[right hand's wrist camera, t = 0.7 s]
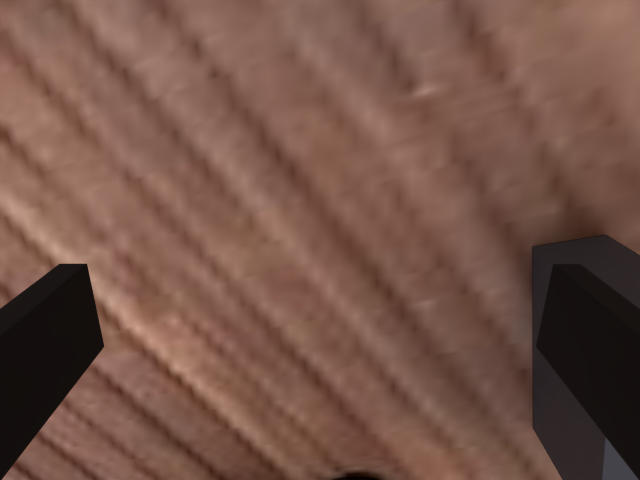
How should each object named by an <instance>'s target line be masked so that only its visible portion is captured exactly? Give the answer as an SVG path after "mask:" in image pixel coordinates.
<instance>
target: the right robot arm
mask: <svg viewBox="0 0 640 480" xmlns="http://www.w3.org/2000/svg"><path fill="white" fill-rule="evenodd" d="M103 347H104V343H103V338H102V334H101V329H100V324H99V319H98V314H97V310H96V305H95V300H94V295H93V290H92V286H91V281H90V276H89V271H88V266H87V264H59V265H58V266H56V267H55V268H54V269H52V270H51V271H50V272H48V273H47V274H46V275H44V276H43V277H42V278H40V279H39V280H38V281H36V282H35V283H34V284H32V285H31V286H30V287H28V288H27V289H26V290H24V291H23V292H22V293H21V294H19V295H18V296H17V297H15V298H14V299H13V300H11V301H10V302H9V303H7V304H6V305H5V306H3V307H2V308H1V309H0V480H2V478H3V477H4V476H5V474H6V473H7V472H8V471H9V469H10V468H11V467H12V465H13V464H14V463H15V461H16V460H17V459H18V458H19V456H20V455H21V454H22V452H23V451H24V450H25V449H26V447H27V446H28V445H29V443H30V442H31V441H32V439H33V438H34V437H35V436H36V434H37V433H38V432H39V430H40V429H41V428H42V426H43V425H44V424H45V423H46V421H47V420H48V419H49V417H50V416H51V415H52V414H53V412H54V411H55V410H56V408H57V407H58V406H59V404H60V403H61V402H62V401H63V399H64V398H65V397H66V395H67V394H68V393H69V392H70V390H71V389H72V388H73V386H74V385H75V384H76V382H77V381H78V380H79V379H80V377H81V376H82V375H83V373H84V372H85V371H86V369H87V368H88V367H89V366H90V364H91V363H92V362H93V360H94V359H95V358H96V357H97V355H98V354H99V353H100V351H101V350H102V349H103ZM536 347H537V349H538V350H539V351H540V353H541V354H542V355H543V357H544V358H545V359H546V360H547V362H548V363H549V364H550V366H551V367H552V368H553V369H554V371H555V372H556V373H557V375H558V376H559V377H560V379H561V380H562V381H563V382H564V384H565V385H566V386H567V388H568V389H569V390H570V392H571V393H572V394H573V395H574V397H575V398H576V399H577V401H578V402H579V403H580V404H581V406H582V407H583V408H584V410H585V411H586V412H587V414H588V415H589V416H590V417H591V419H592V420H593V421H594V423H595V424H596V425H597V426H598V428H599V429H600V430H601V432H602V433H603V434H604V436H605V437H606V438H607V439H608V441H609V442H610V443H611V445H612V446H613V447H614V449H615V450H616V451H617V452H618V454H619V455H620V456H621V458H622V459H623V460H624V461H625V463H626V464H627V465H628V467H629V468H630V469H631V471H632V472H633V473H634V474H635V476H636V477H637V478H638V480H640V309H639V308H638V307H637V306H635V305H634V304H633V303H631V302H630V301H629V300H627V299H626V298H625V297H623V296H622V295H621V294H619V293H618V292H617V291H616V290H614V289H613V288H612V287H610V286H609V285H608V284H606V283H605V282H604V281H602V280H601V279H600V278H598V277H597V276H596V275H594V274H593V273H592V272H590V271H589V270H588V269H586V268H585V267H584V266H582V265H581V264H553V266H552V271H551V276H550V281H549V286H548V290H547V295H546V300H545V305H544V310H543V314H542V319H541V324H540V329H539V334H538V338H537V343H536ZM341 480H372V479H364V478H349V479H341Z"/></svg>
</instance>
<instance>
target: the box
mask: <svg viewBox="0 0 640 480" xmlns="http://www.w3.org/2000/svg"><path fill="white" fill-rule="evenodd" d="M553 264H581V265H582V266H584V267H585V268H586V269H588V270H589V271H590V272H592V273H593V274H594V275H596V276H597V277H598V278H600V279H601V280H602V281H604V282H605V283H606V284H608V285H609V286H610V287H612V288H613V289H614V290H616V291H617V292H618V293H619V294H621V295H622V296H623V297H625V298H626V299H627V300H629V301H630V302H631V303H633V304H634V305H635V306H637V307H638V308H639V309H640V255H639V254H637V253H635V252H634V251H632V250H630V249H629V248H627V247H625V246H624V245H622V244H621V243H619V242H617V241H616V240H614V239H612V238H611V237H609V236H607V235H602V236H596V237H590V238H584V239H577V240H571V241H565V242H559V243H553V244H546V245H540V246H534V247H532V267H533V429H534V431H535V433H536V434H537V436H538V438H539V439H540V441H541V443H542V445H543V446H544V448H545V450H546V452H547V453H548V455H549V457H550V459H551V460H552V462H553V464H554V466H555V467H556V469H557V471H558V473H559V474H560V476H561V478H562V479H563V480H638V478H637V477H636V476H635V474H634V473H633V472H632V471H631V469H630V468H629V467H628V465H627V464H626V463H625V461H624V460H623V459H622V458H621V456H620V455H619V454H618V452H617V451H616V450H615V449H614V447H613V446H612V445H611V443H610V442H609V441H608V439H607V438H606V437H605V436H604V434H603V433H602V432H601V430H600V429H599V428H598V426H597V425H596V424H595V423H594V421H593V420H592V419H591V417H590V416H589V415H588V414H587V412H586V411H585V410H584V408H583V407H582V406H581V404H580V403H579V402H578V401H577V399H576V398H575V397H574V395H573V394H572V393H571V392H570V390H569V389H568V388H567V386H566V385H565V384H564V382H563V381H562V380H561V379H560V377H559V376H558V375H557V373H556V372H555V371H554V369H553V368H552V367H551V366H550V364H549V363H548V362H547V360H546V359H545V358H544V357H543V355H542V354H541V353H540V351H539V350H538V349H537V347H536V343H537V338H538V334H539V329H540V324H541V319H542V314H543V310H544V305H545V300H546V295H547V290H548V286H549V281H550V276H551V271H552V266H553Z"/></svg>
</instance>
